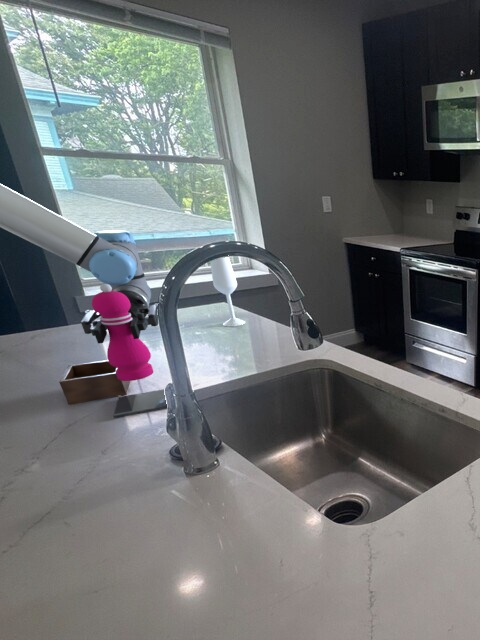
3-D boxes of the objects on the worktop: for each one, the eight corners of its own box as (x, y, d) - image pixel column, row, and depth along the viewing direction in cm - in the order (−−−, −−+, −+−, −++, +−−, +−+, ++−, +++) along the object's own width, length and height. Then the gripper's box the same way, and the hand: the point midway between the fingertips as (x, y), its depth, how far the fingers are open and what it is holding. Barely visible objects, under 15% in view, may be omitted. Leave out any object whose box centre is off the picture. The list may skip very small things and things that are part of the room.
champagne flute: (230, 327, 151) (212, 252, 141) (218, 323, 154) (200, 249, 144) (250, 322, 157) (234, 249, 146) (238, 319, 160) (222, 246, 149)
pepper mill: (152, 366, 106) (124, 278, 97) (159, 376, 101) (130, 284, 93) (112, 374, 101) (78, 282, 93) (117, 385, 97) (82, 290, 88)
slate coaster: (114, 418, 98) (113, 415, 98) (119, 399, 105) (118, 396, 105) (171, 407, 103) (170, 405, 102) (172, 390, 110) (172, 387, 110)
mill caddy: (68, 404, 102) (58, 381, 100) (76, 386, 110) (68, 365, 108) (126, 394, 107) (118, 373, 105) (130, 378, 115) (123, 357, 113)
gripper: (178, 315, 116) (176, 345, 98) (84, 325, 107) (63, 360, 90) (169, 285, 113) (166, 310, 95) (72, 293, 104) (48, 322, 86)
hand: (116, 334), depth 92 cm, fingers closed on pepper mill, 5 cm apart
